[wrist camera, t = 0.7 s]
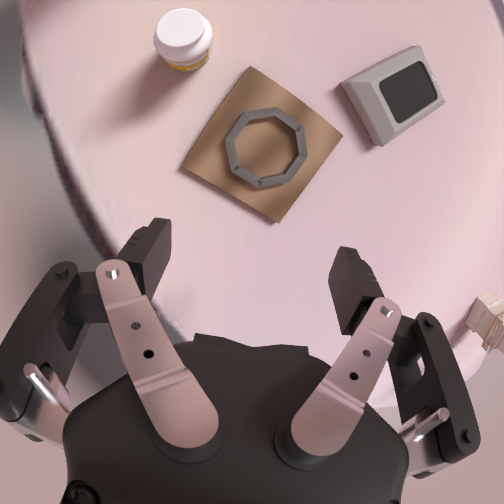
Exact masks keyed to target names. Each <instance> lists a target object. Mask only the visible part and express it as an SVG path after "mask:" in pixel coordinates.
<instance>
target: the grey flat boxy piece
mask: <svg viewBox="0 0 504 504" xmlns="http://www.w3.org/2000/svg"><path fill="white" fill-rule="evenodd" d="M340 85H341V86H342V88H343V89H344V91H345V93H346V94H347V96H348V98H349V99H350V101H351V103H352V104H353V106H354V108H355V110H356V111H357V113H358V115H359V117H360V119H361V121H362V122H363V124H364V126H365V128H366V130H367V132H368V134H369V136H370V138H371V140H372V142H373V144H374V145H378V146H381V147H383V146H384V145H385V144H387V143H388V142H390V141H391V140H393V139H394V138H395V137H397V136H398V135H400V134H401V133H403V132H404V131H405V130H407V129H408V128H410V127H411V126H413V125H414V124H416V123H417V122H418V121H420V120H421V119H423V118H424V117H426V116H427V115H429V114H430V113H431V112H433V111H434V110H436V109H437V108H439V107H440V106H442V105H443V104H444V103H445V102H446V101H445V99H444V96H443V94H442V91H441V89H440V86H439V84H438V82H437V79H436V77H435V75H434V73H433V71H432V68H431V66H430V64H429V62H428V60H427V58H426V56H425V54H424V52H423V50H422V48H421V47H420V46H419V45H417V46H411V47H409V48H407V49H405V50H402V51H400V52H398V53H396V54H394V55H392V56H390V57H388V58H386V59H384V60H382V61H380V62H378V63H376V64H374V65H372V66H370V67H368V68H366V69H364V70H362V71H361V72H359V73H357V74H355V75H353V76H351V77H350V78H348V79H346V80H344V81H343V82H341V83H340Z"/></svg>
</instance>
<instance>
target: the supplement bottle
mask: <svg viewBox="0 0 504 504" xmlns="http://www.w3.org/2000/svg"><path fill="white" fill-rule="evenodd" d="M212 36H213V35H212V28H211V25H210V23H209V22H208V21H207V20H206V19H205V18H204V17H203V16H201V15H200V14H199V13H198V12H197V11H195V10H192V9H188V8H179V9H175V10H172V11H170V12H168V13H166V14H165V15H164V16H163V17H162V18H161V19H160V20H159V22H158V24H157V27H156V31H155V34H154V46H155V48H156V50H157V52H158V53H159V54H160V55H161V56H162V58H163V59H164V60H165V61H166V63H167V64H168V65H169V66H171V67H172V68H174V69H176V70H178V71H185V72H186V71H193V70H196V69H198V68H200V67H201V66H203V65H204V64H205V63H206V62H207V61H208V59H209V58H210V55H211V52H212Z"/></svg>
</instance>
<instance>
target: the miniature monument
mask: <svg viewBox="0 0 504 504" xmlns="http://www.w3.org/2000/svg"><path fill="white" fill-rule="evenodd" d="M465 324H466V325H467V326H468V327H469V328H470V329H471V331H472V332H477V333H478V334H479V336H480V337H481V338H482V339H483V340H484V341H483V343H482V345H481V346H482V347H483V348H484V350H485V351H487V349H488V345H489V346H490V347H493V348H494V349H496V348H498V349H499V350H500V351H502V352H503V353H504V304H503V303H502V298H501V297H500V296H499V295H498V294H497V293H496V292H495V291H493V290H492V291H490V292H488V293H485V294H483V295H480V296H478V297H477V298H476V301H475V303H474V305H473V307H472V309H471V312H470V314H469V316H468V318H467V320H466V322H465Z"/></svg>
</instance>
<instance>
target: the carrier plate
mask: <svg viewBox="0 0 504 504" xmlns="http://www.w3.org/2000/svg"><path fill="white" fill-rule="evenodd" d="M342 137H343V135H342V134H341V133H340V132H339V131H338V130H336V129H335V128H334V127H333V126H332V125H331V124H329V123H328V122H327V121H326V120H325V119H323V118H322V117H321V116H320V115H318V114H317V113H316V112H315V111H314V110H312V109H311V108H310V107H308V106H307V105H306V104H305V103H303V102H302V101H301V100H299V99H298V98H297V97H295V96H294V95H293V94H291V93H290V92H288V91H287V90H286V89H284V88H283V87H281V86H280V85H279V84H277V83H276V82H274V81H273V80H271V79H270V78H268V77H267V76H265V75H264V74H262V73H261V72H259V71H258V70H256V69H255V68H253V67H251V66H250V67H249V68H248V69H247V70H246V72H245V73H244V74H243V75H242V77H241V78H240V79H239V81H238V82H237V83H236V85H235V86H234V87H233V89H232V90H231V91H230V93H229V94H228V96H227V97H226V98H225V100H224V101H223V103H222V104H221V105H220V107H219V108H218V110H217V111H216V113H215V114H214V115H213V117H212V118H211V120H210V121H209V123H208V124H207V126H206V127H205V129H204V130H203V132H202V133H201V135H200V136H199V138H198V140H197V141H196V143H195V144H194V146H193V147H192V149H191V151H190V152H189V154H188V155H187V157H186V159H185V160H184V162H183V164H182V165H181V166H182V167H184V168H185V169H187V170H189V171H191V172H193V173H194V174H196V175H198V176H200V177H201V178H203V179H205V180H207V181H208V182H210V183H212V184H213V185H215V186H217V187H219V188H220V189H222V190H224V191H225V192H227V193H229V194H231V195H232V196H234V197H236V198H237V199H239V200H241V201H242V202H244V203H246V204H247V205H249V206H251V207H252V208H254V209H256V210H257V211H259V212H261V213H262V214H264V215H266V216H267V217H269V218H271V219H272V220H274V221H275V222H277V223H280V221H281V220H282V219H283V217H284V216H285V215H286V213H287V212H288V210H289V209H290V208H291V206H292V205H293V204H294V202H295V201H296V200H297V198H298V197H299V196H300V194H301V193H302V191H303V190H304V189H305V187H306V186H307V185H308V183H309V182H310V181H311V179H312V178H313V176H314V175H315V174H316V172H317V171H318V170H319V168H320V167H321V166H322V164H323V163H324V161H325V160H326V159H327V157H328V156H329V155H330V153H331V152H332V151H333V149H334V148H335V146H336V145H337V144H338V142H339V141H340V140H341V138H342Z"/></svg>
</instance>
